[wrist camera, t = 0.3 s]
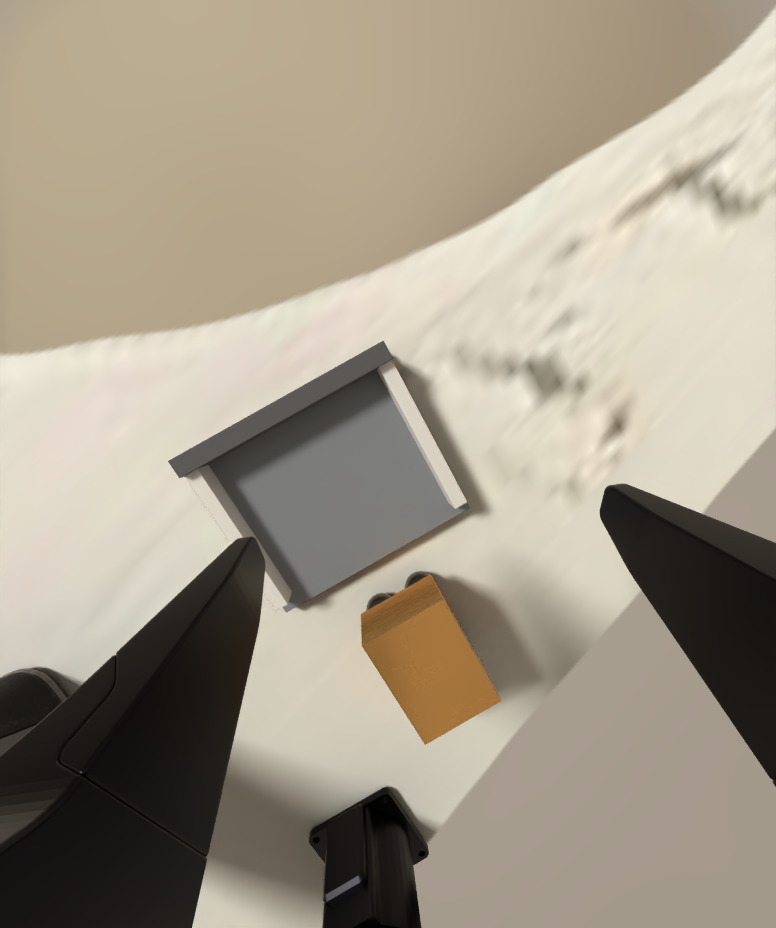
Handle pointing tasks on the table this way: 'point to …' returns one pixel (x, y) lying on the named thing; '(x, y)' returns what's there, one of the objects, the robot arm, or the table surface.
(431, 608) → the trolley
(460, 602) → the table surface
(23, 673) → the electronic device
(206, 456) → the dock
